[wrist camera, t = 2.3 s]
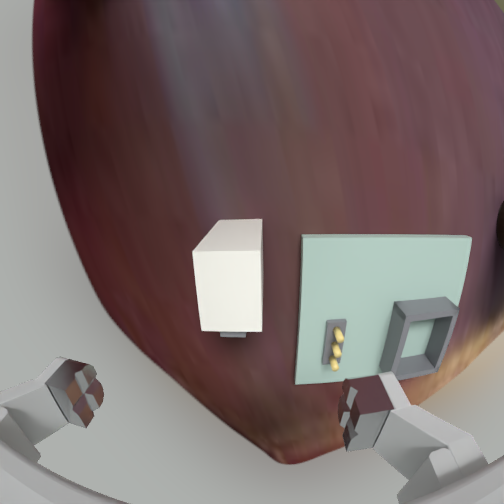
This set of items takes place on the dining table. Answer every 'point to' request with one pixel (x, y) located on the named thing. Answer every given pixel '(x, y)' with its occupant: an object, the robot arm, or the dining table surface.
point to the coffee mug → (501, 226)
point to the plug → (230, 277)
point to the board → (377, 304)
